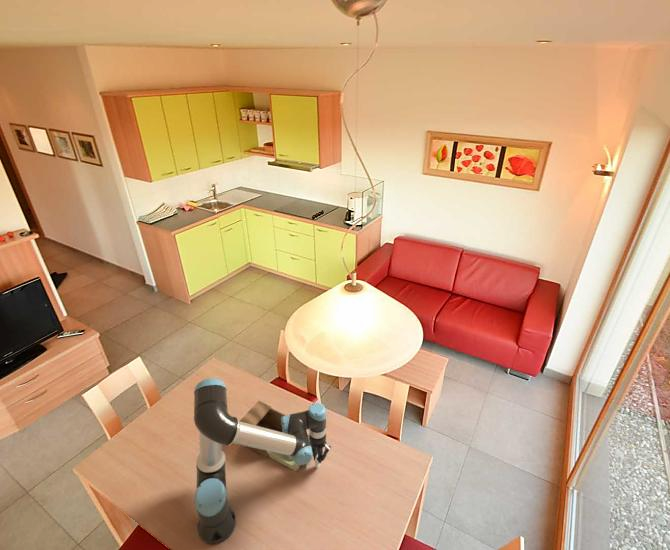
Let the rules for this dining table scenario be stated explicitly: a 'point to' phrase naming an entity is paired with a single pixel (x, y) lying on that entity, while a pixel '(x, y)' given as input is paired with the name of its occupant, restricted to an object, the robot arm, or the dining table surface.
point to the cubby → (263, 421)
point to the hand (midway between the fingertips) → (318, 465)
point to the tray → (285, 460)
